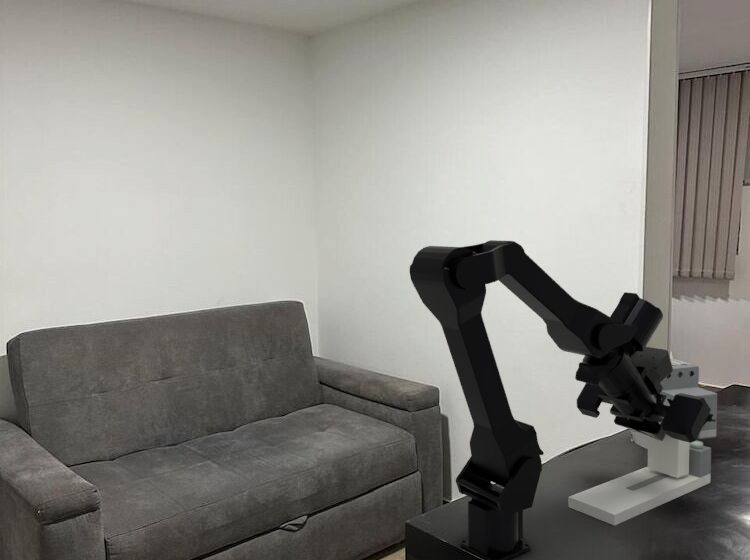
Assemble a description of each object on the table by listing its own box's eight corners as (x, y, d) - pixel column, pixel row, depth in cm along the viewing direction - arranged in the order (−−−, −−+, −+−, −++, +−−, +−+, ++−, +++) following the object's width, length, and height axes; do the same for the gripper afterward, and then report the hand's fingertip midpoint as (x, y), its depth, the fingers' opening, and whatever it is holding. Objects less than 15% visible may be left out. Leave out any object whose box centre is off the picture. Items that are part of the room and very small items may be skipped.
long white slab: (614, 525, 93) (615, 479, 92) (568, 507, 99) (568, 464, 98) (710, 482, 106) (711, 442, 106) (664, 468, 113) (665, 430, 112)
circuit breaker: (684, 467, 113) (686, 377, 112) (630, 441, 127) (631, 360, 125) (723, 462, 115) (725, 373, 114) (665, 436, 129) (667, 357, 127)
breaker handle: (678, 478, 103) (679, 420, 102) (646, 468, 107) (647, 412, 107) (689, 473, 105) (691, 416, 104) (658, 463, 109) (659, 409, 108)
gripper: (704, 340, 92) (744, 407, 100) (588, 324, 108) (630, 383, 115) (670, 408, 89) (714, 472, 96) (554, 382, 104) (600, 439, 111)
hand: (661, 437), depth 105 cm, fingers closed
